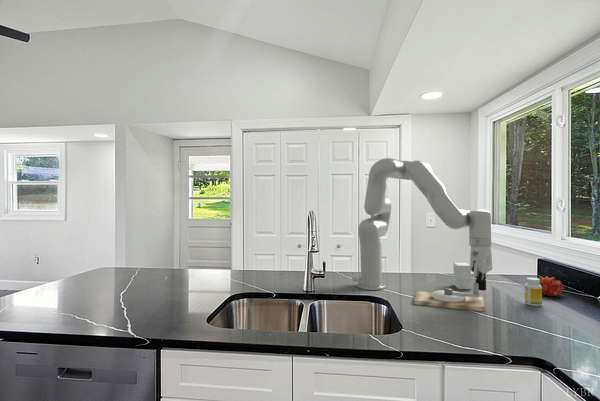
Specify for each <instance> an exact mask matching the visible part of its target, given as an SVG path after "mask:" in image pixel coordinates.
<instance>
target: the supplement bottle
mask: <svg viewBox="0 0 600 401" xmlns="http://www.w3.org/2000/svg"><path fill="white" fill-rule="evenodd" d="M538 278H539V277H526V283H525V284H524V304H525V305H528V306H532V307H541V306H542V305H543V295H542V286H541V285H540V284H539V283H540V279H538Z"/></svg>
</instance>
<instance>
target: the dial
mask: <svg viewBox="0 0 600 401" xmlns="http://www.w3.org/2000/svg"><path fill="white" fill-rule="evenodd" d="M472 290H473V291H472V292H465V291H463V292H462V291H457V290H456V291H454V290H453V288H450V287H444V288H443V289H441V290H434V291H431V292H432V298H433V299H435V300H438V301H442V302H450V303H458V302H464V301H465V300H466V296H468V297H480V294H479V292H480V290H479V287H478V283H476V282H472Z"/></svg>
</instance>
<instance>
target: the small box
mask: <svg viewBox="0 0 600 401" xmlns="http://www.w3.org/2000/svg"><path fill="white" fill-rule="evenodd" d="M452 265H453V266H452V267H453V285H454V286H455V287H456V288H457V290H472V271H471V269H470V263H467V262H453V264H452Z"/></svg>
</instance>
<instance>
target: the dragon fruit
mask: <svg viewBox="0 0 600 401" xmlns="http://www.w3.org/2000/svg"><path fill="white" fill-rule="evenodd" d="M537 278H538V279H540V283H539V284H540V285H541V286H542V297H543V296H546V295H547V296H549V297H553V296H554V297H560V296H561V293H562V292H563V291H564V290H565V286H564V284H563V283H562V282H561V280H558V279H556V278H555V277H554V276H552V277H548V275H546V276H544V277H543V276H538V277H537Z"/></svg>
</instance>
